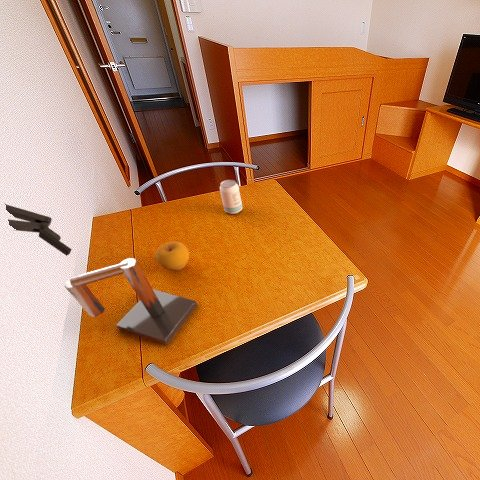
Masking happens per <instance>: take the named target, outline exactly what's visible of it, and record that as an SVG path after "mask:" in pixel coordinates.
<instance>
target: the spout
mask: <svg viewBox="0 0 480 480" xmlns="http://www.w3.org/2000/svg"><path fill="white" fill-rule="evenodd" d="M144 273H145V272H144V271H143V270H142V268H141V267H140V265H139V263H138V261H137V259H136V258H133V257H128V258H126V259H123V260H122V261H120V263H117V264H114V265H110V266H106V267H103V268H102V267H101V268H100V269H95V270H92V271H88V272H85V273H81V274H78V275H74V276H71V277H70V278H69V279H68V280H67V281H65V283H64V284H63V287H64V289H65V290H66V291H68V293H69V294H70V295H71V296H72V297H73V298H74V299H75V300H76V302H77V303H78V304H79V305H80V306H81V307H82V309H83V310H84V311H85V312H86V313H87V314H88V315H89V316H90V317H91V318H97V317H99V316H101V315H102V314H103V313H104V312H105V307H104V306H103V305H102V303H101V302H100V301H99V300H98V298H97V297H96V295H95V294H94V293H93V292H92V291H91V289H90V288H89V287H88V286H87V285H90V284H92V283H96V282H100V281H103V280H105V279H109V278H112V277H115V276H120V275H124V277H125V279H126V280H127V281H128V283H129V284H130V287H131V288H132V289H133V291H134V293H135V294H136V295H137V297H138V299H139V301H140V300H141V302H142V303H143V305H144V306H145V308H146V310H147V311H148V313H149V314H150V316H151V317H158V316H160V315H161V314H162V313H163V311H164V309H163V307H162V305H161V303H160V301H159V300H158V298H157V296H156V294H155V293H154V291H153V289H154V288H153V287H152V285H151V284H150V282H149V280H148V278H147V276H146V275H145V274H144Z"/></svg>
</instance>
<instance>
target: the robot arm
mask: <svg viewBox="0 0 480 480" xmlns="http://www.w3.org/2000/svg"><path fill="white" fill-rule="evenodd" d="M4 204H5V205H6V210H7V211H8V212H9V213H10V214H12V215H13V216H14V217H15V219H9V218H7V219H8V221H9V225H10V226H12V227H13V228H14V229H16V230H15V231H17V232H27V233H28V232H29V233H38V238H40V239H41V240H43V241H44V242H46V243H47V244H48V245H50V246H52V247H53V248H55V249H56V250H57V251H59V252H60V253H62V255H65V256H66V257H67V256H69V255H70V254H71V252H72V250H73V249H72V248H71V247H69V245H66V244H65V243H64V242H62V241H61V239H62V237H61V236H60V234H58V233H57V232H55V231H54V230H53V229H51V228H50V226H51V224H52V220H53V219H52V217H50V216H48V215H44V214H41V213H37V212H34V211H30V210H27V209H23V208H20V207H16V206H13V205H9V204H6V203H4ZM14 217H13V218H14ZM16 219H17V220H16Z"/></svg>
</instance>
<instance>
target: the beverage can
mask: <svg viewBox="0 0 480 480" xmlns="http://www.w3.org/2000/svg"><path fill="white" fill-rule="evenodd" d="M219 193H220V197H221V201H222V206H223V209H224V212H225V213H228V214H230V215H235V214H238V213H240V212H241V211H242V210H243V202H242V196H241V191H240V186H239V184H238V183H237V181H235V180H234V179H226V180H223V181H221V182H220V186H219Z"/></svg>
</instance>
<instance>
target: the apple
mask: <svg viewBox="0 0 480 480" xmlns="http://www.w3.org/2000/svg"><path fill="white" fill-rule="evenodd" d="M154 258H155V261H156V263H157V264H159V265H160V266H161V267H162V268H164V269H166V270H170V271H180V270H182V269H184V268H185V267H186V265H187V263H188V262H189V259H190V252H189V248H188V247H187V246H186V245H185V244H184V243H183V242H179V241H168V242H165V243H163V244H161V245H160V246H159V247H158V248H157V250H156V252H155V256H154Z"/></svg>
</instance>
